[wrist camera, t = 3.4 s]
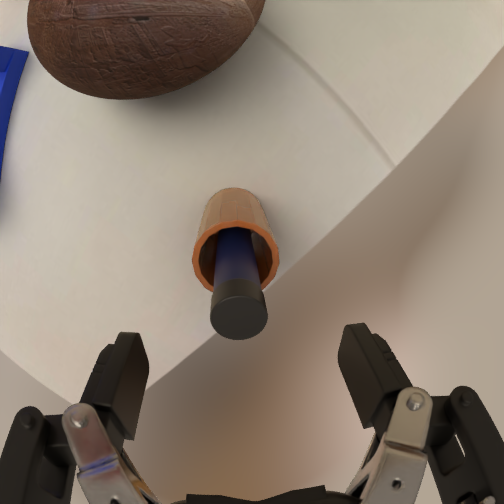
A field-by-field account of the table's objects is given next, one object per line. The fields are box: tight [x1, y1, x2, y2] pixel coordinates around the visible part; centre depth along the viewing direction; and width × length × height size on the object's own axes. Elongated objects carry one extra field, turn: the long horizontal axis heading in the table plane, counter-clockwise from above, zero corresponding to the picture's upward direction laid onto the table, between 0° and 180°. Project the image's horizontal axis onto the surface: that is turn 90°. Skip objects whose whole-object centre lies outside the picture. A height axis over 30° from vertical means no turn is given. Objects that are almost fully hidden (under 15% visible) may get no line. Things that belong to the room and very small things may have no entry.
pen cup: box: [192, 188, 279, 292], centre depth 21 cm, size 5×5×9 cm
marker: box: [210, 226, 268, 340], centre depth 18 cm, size 2×2×14 cm
